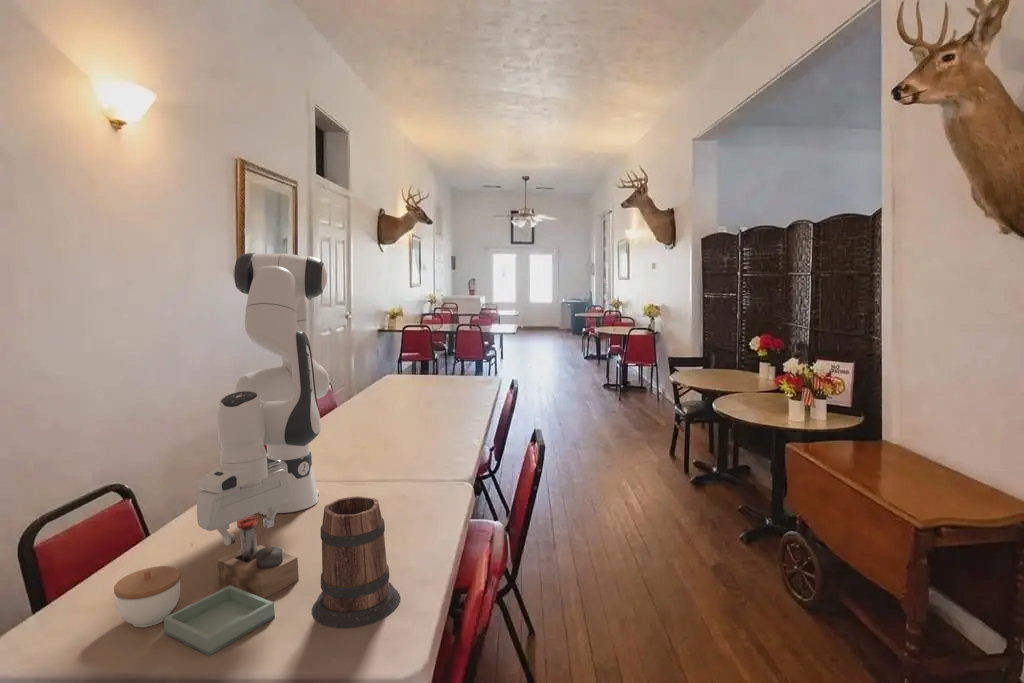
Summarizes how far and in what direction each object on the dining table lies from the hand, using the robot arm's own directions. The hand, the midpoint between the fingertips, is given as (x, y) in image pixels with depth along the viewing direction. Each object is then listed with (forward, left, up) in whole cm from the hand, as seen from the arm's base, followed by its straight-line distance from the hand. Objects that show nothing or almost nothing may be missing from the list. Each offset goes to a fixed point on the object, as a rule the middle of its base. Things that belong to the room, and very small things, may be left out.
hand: (249, 534), depth 128 cm
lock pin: (-1, 0, -10) cm, 10 cm away
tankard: (+24, +6, -10) cm, 26 cm away
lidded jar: (-4, -19, -10) cm, 22 cm away
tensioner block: (+2, 0, -10) cm, 10 cm away
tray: (+10, -14, -10) cm, 20 cm away
